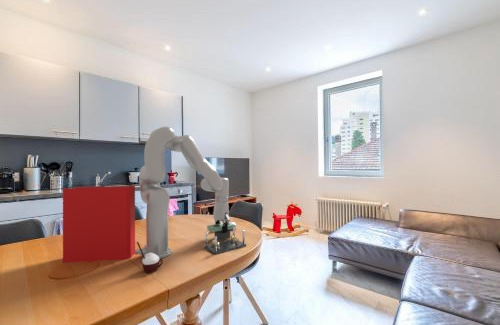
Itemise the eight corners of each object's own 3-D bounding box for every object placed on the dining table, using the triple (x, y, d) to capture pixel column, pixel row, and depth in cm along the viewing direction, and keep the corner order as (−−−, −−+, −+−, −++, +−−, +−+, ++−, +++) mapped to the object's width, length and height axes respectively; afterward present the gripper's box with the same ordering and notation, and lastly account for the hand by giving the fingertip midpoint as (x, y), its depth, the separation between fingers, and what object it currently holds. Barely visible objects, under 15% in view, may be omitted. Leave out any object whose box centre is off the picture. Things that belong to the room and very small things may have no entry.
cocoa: (163, 267, 95) (164, 237, 96) (160, 273, 89) (161, 242, 90) (138, 268, 93) (140, 238, 94) (133, 275, 87) (135, 242, 88)
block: (218, 240, 127) (218, 233, 127) (214, 238, 130) (214, 231, 130) (230, 237, 132) (230, 230, 132) (226, 236, 135) (226, 229, 135)
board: (213, 232, 123) (213, 227, 123) (207, 229, 129) (207, 224, 129) (235, 228, 132) (235, 223, 132) (228, 225, 137) (228, 221, 137)
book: (62, 262, 100) (62, 188, 100) (74, 255, 107) (74, 186, 108) (129, 259, 103) (129, 187, 103) (136, 252, 111) (135, 185, 111)
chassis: (215, 254, 107) (214, 237, 107) (204, 247, 116) (204, 232, 116) (246, 246, 118) (246, 230, 118) (234, 240, 127) (234, 225, 127)
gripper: (208, 198, 135) (208, 228, 135) (224, 201, 122) (223, 235, 121) (219, 197, 140) (219, 227, 139) (235, 200, 126) (235, 233, 126)
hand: (221, 230), depth 130 cm, fingers closed on board, 7 cm apart
